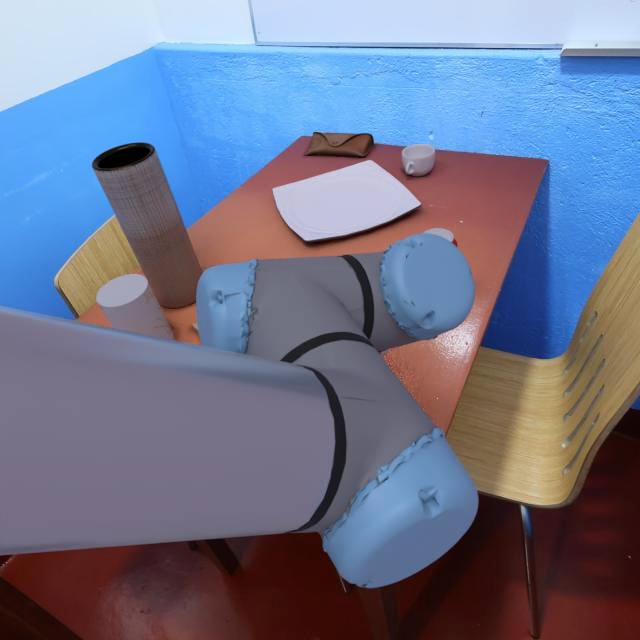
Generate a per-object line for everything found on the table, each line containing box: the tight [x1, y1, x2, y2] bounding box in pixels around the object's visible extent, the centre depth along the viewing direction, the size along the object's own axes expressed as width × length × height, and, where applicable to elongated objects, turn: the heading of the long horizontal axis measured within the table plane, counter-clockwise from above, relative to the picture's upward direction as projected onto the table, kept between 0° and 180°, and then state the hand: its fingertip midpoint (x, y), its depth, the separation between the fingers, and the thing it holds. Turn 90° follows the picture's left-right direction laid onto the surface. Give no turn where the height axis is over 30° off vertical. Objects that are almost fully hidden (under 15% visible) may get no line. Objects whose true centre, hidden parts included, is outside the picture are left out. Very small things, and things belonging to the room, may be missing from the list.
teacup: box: [401, 143, 436, 177], centre depth 112 cm, size 10×8×5 cm
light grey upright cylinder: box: [95, 273, 175, 340], centre depth 78 cm, size 8×8×12 cm
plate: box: [271, 159, 422, 243], centre depth 106 cm, size 29×29×3 cm
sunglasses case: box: [304, 131, 375, 158], centre depth 129 cm, size 18×7×7 cm
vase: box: [91, 141, 204, 309], centre depth 82 cm, size 10×10×28 cm
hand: (281, 353), depth 66 cm, fingers open, 13 cm apart
